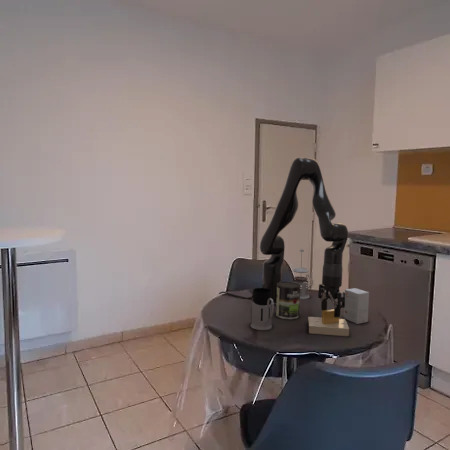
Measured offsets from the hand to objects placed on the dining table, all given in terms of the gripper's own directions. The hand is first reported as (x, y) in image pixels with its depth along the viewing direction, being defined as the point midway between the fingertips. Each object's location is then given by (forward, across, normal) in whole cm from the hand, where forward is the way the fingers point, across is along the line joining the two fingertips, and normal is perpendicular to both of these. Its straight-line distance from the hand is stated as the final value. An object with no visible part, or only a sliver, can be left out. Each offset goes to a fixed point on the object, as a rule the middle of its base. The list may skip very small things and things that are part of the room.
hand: (330, 313), depth 152 cm
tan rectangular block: (+4, 0, 0) cm, 4 cm away
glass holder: (+7, -9, -24) cm, 27 cm away
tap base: (+7, 0, -1) cm, 7 cm away
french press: (+7, -44, +14) cm, 47 cm away
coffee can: (+7, -20, -8) cm, 23 cm away
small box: (+7, -6, +17) cm, 20 cm away
